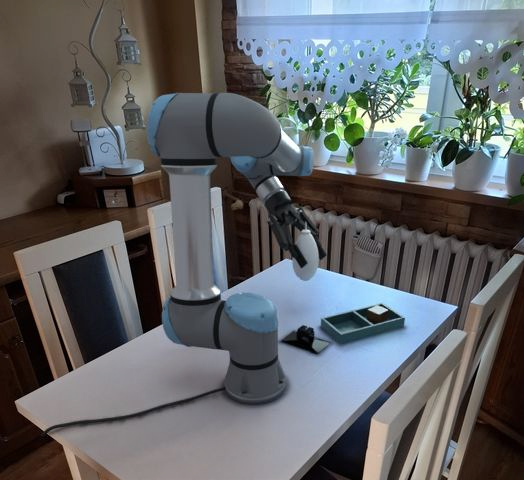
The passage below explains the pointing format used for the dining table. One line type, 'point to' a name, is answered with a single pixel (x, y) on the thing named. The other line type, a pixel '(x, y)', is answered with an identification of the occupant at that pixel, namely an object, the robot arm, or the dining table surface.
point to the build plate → (305, 340)
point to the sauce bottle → (306, 255)
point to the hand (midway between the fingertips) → (314, 261)
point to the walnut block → (377, 315)
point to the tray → (359, 324)
